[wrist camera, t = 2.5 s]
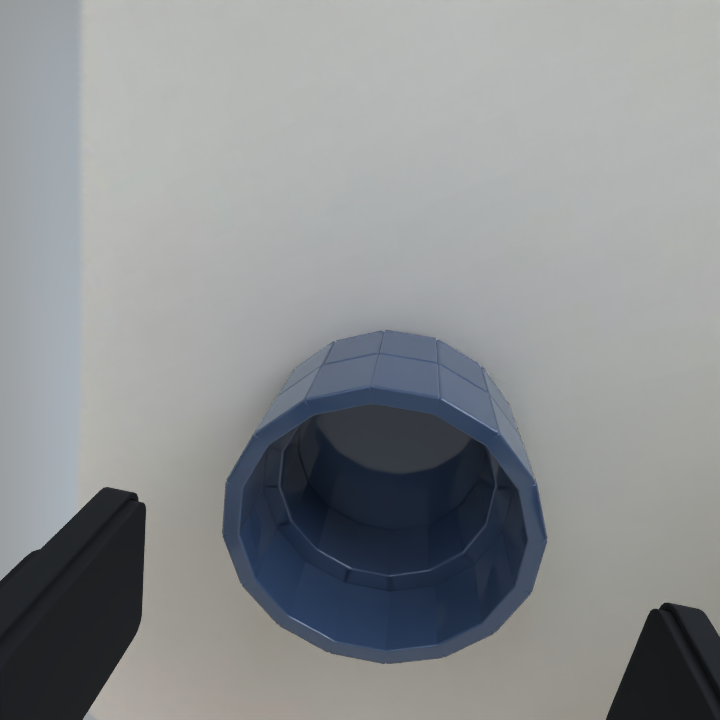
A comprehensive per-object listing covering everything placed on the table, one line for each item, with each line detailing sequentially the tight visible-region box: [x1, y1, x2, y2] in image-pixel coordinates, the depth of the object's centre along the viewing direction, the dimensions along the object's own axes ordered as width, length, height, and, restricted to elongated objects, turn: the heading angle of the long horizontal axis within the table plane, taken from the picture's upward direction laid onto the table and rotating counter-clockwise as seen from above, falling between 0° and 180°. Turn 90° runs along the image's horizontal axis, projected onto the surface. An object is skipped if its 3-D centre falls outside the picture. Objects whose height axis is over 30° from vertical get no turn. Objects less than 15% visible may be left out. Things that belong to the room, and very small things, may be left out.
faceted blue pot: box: [222, 330, 547, 664], centre depth 14 cm, size 7×7×4 cm
